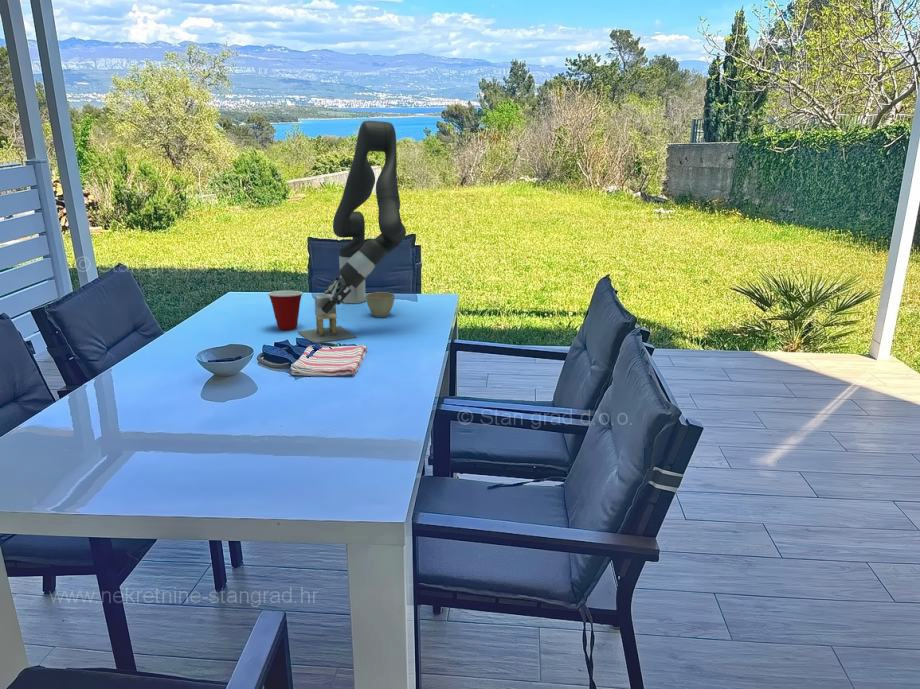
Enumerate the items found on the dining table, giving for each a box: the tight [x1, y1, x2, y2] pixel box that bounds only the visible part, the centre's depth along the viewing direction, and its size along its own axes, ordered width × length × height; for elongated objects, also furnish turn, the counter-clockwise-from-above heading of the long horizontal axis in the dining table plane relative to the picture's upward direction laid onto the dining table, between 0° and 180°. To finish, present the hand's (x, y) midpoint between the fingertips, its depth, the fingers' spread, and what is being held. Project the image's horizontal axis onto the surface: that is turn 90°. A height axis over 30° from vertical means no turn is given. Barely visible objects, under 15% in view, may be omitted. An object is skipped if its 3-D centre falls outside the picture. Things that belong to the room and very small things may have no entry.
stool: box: [314, 293, 338, 337], centre depth 206 cm, size 6×6×12 cm
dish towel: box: [290, 345, 368, 377], centre depth 182 cm, size 17×23×4 cm
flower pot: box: [365, 291, 396, 318], centre depth 231 cm, size 10×10×7 cm
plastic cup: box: [267, 290, 304, 331], centre depth 214 cm, size 11×11×12 cm
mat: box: [297, 325, 357, 344], centre depth 208 cm, size 14×14×1 cm
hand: (321, 308), depth 205 cm, fingers open, 8 cm apart
